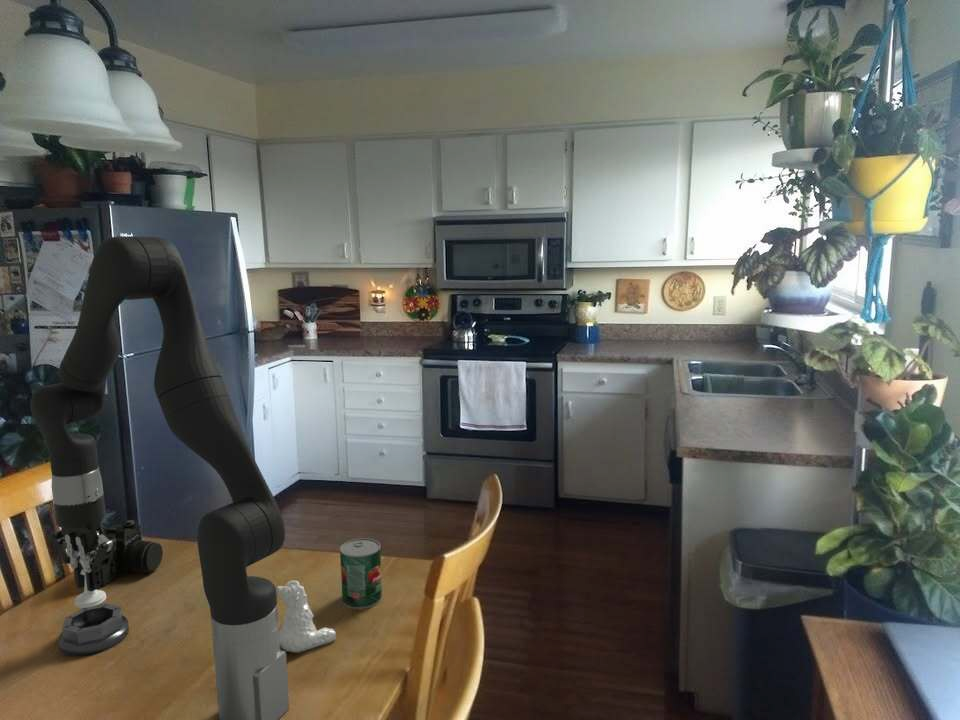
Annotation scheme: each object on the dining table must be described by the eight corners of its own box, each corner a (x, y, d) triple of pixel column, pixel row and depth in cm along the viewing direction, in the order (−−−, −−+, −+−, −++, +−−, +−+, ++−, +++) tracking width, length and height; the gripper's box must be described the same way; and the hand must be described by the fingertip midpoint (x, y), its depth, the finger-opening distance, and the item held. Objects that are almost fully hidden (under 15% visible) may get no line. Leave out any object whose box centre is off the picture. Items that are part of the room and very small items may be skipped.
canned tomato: (386, 604, 133) (384, 551, 131) (346, 612, 130) (343, 559, 128) (377, 585, 140) (375, 535, 138) (338, 593, 137) (336, 542, 136)
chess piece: (99, 590, 125) (93, 539, 123) (111, 599, 122) (105, 547, 120) (70, 601, 121) (63, 549, 119) (81, 611, 118) (75, 557, 116)
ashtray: (142, 627, 125) (140, 607, 125) (89, 662, 115) (87, 640, 115) (99, 616, 129) (97, 597, 129) (44, 648, 119) (41, 627, 119)
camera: (131, 591, 139) (126, 545, 137) (85, 587, 141) (79, 542, 139) (172, 560, 152) (169, 518, 151) (130, 557, 154) (125, 515, 152)
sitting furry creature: (339, 639, 121) (336, 577, 119) (302, 664, 114) (298, 598, 112) (301, 624, 127) (298, 563, 124) (264, 647, 119) (260, 583, 117)
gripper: (29, 497, 117) (41, 590, 120) (87, 508, 112) (98, 605, 115) (69, 483, 124) (80, 571, 127) (126, 492, 119) (135, 584, 122)
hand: (89, 587), depth 121 cm, fingers closed on chess piece
